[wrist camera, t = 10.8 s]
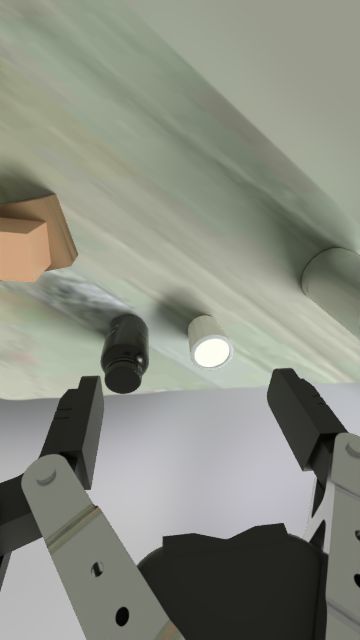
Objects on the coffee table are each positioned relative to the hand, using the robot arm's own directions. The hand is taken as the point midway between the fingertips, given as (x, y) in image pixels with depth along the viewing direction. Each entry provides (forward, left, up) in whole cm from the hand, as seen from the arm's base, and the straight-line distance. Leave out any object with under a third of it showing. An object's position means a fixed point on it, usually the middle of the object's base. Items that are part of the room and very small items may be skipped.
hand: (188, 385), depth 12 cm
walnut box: (+16, 0, -30) cm, 34 cm away
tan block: (+16, 0, -25) cm, 30 cm away
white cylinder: (-8, +16, -30) cm, 35 cm away
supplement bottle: (+5, +16, -30) cm, 34 cm away
